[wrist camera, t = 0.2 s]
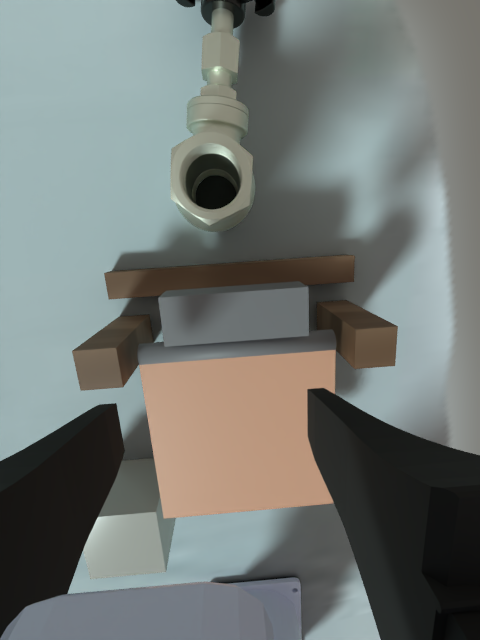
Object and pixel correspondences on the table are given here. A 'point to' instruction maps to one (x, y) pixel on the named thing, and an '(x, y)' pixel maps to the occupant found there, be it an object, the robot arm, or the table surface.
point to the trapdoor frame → (129, 331)
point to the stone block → (130, 526)
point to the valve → (216, 123)
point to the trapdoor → (235, 398)
